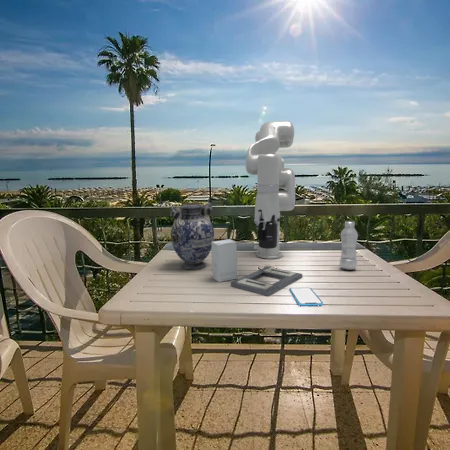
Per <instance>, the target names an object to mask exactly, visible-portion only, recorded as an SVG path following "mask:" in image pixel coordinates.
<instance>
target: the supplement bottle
mask: <svg viewBox="0 0 450 450" xmlns="http://www.w3.org/2000/svg"><path fill="white" fill-rule="evenodd" d="M274 220H275V215H272V218H271V221H270V222H267V224H266V228H265V230H266V241H261V240H258V246H259V247H261V248H265V249H272V248H276V247H277V230H278V225H277V223H276V222H275V221H274ZM262 221H264V220H262ZM261 224H262V225H263V223H261Z"/></svg>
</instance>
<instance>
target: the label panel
mask: <svg viewBox="0 0 450 450" xmlns="http://www.w3.org/2000/svg"><path fill="white" fill-rule="evenodd" d="M262 277H267V278H272V279H276V280H278V281H276V282H274V283H270V282H269V283H268V282H265V281H264V282H263V281H260V280H258V279H260V278H262ZM301 279H303V273H301V272H294V271H289V270H285V269H280V268H276V267H269V266H266V267H264V268H261V269H259V270H256V271H254V272H252V273H251V272H250V273H249V274H247V275H244V276H243V277H239V278H237V279H234V280H233V281H230V287H233V288H237V289H240V290H244V291H247V292H250V293H255V294H258V295H263V296H266V297H270V296H271V295H273V294H276V293H277V292H279V291H281V290H283V289H284V288H285V289H286V288H287V287H289V286H290V285H292V284H293V283H295V282H297V281H299V280H301Z"/></svg>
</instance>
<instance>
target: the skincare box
mask: <svg viewBox="0 0 450 450" xmlns="http://www.w3.org/2000/svg"><path fill="white" fill-rule="evenodd" d="M237 243H238V242H237V241H235V240H233V239H230V238H228V239H223V240H216V241H215V240H214V241H213V242H211V245H212V248H211V265H212V278H213V279H214V280H215V281H216V282H218V283H222V282H226V281H231V280H237V279H238V256H237V255H238V253H237V252H238V251H237V248H238V246H237Z"/></svg>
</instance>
